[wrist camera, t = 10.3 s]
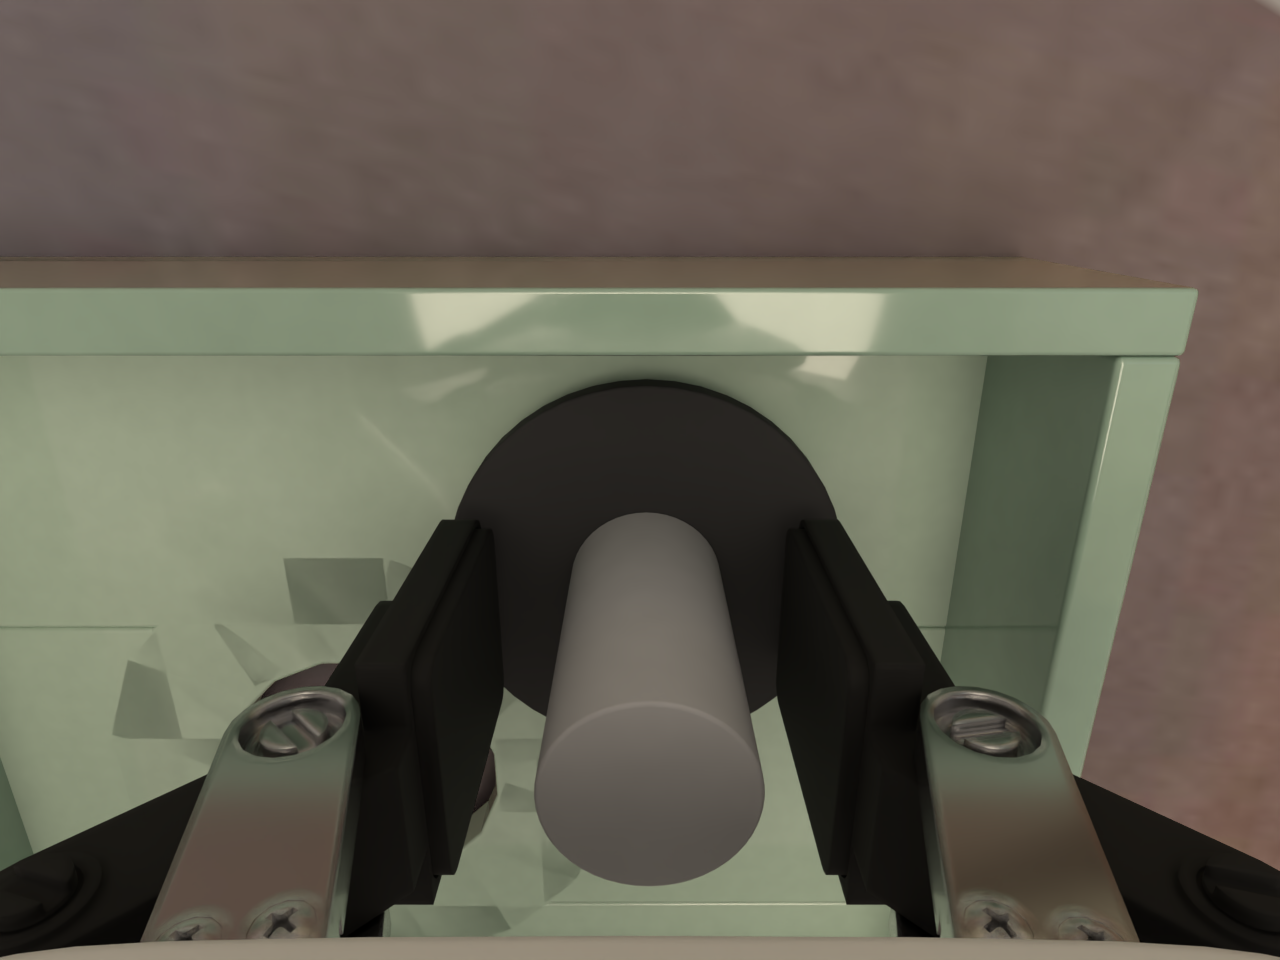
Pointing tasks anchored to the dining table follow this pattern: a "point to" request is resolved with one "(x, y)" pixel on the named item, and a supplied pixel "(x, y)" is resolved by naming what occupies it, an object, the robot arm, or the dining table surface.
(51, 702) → the sink floor
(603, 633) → the plug
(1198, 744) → the dining table surface
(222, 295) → the sink
